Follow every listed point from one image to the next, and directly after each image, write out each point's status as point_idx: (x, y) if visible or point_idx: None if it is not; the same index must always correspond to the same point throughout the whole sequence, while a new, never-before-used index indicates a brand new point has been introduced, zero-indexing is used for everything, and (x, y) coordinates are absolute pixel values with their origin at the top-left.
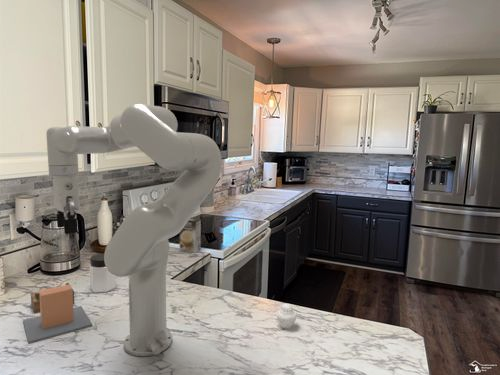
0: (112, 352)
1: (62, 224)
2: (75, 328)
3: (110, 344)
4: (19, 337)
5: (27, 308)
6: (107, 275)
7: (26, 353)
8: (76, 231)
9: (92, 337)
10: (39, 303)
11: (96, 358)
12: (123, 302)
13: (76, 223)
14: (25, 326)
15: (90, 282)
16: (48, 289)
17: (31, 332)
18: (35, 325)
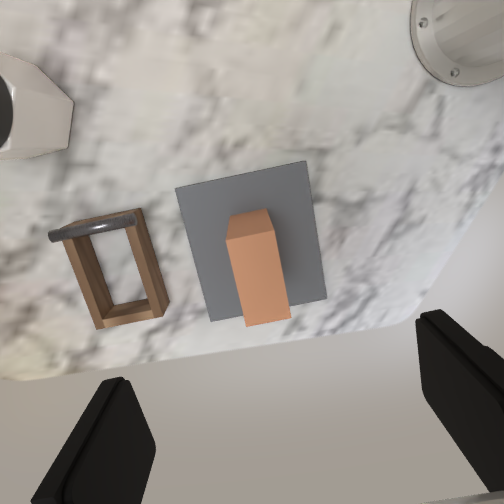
0: (463, 117)
1: (139, 438)
2: (311, 203)
3: (424, 119)
4: None
5: None
6: (35, 89)
7: (364, 295)
8: (442, 317)
9: (366, 162)
10: (160, 300)
11: (466, 156)
12: (180, 52)
13: (496, 363)
14: None
15: (17, 158)
16: (245, 302)
17: None
18: None
